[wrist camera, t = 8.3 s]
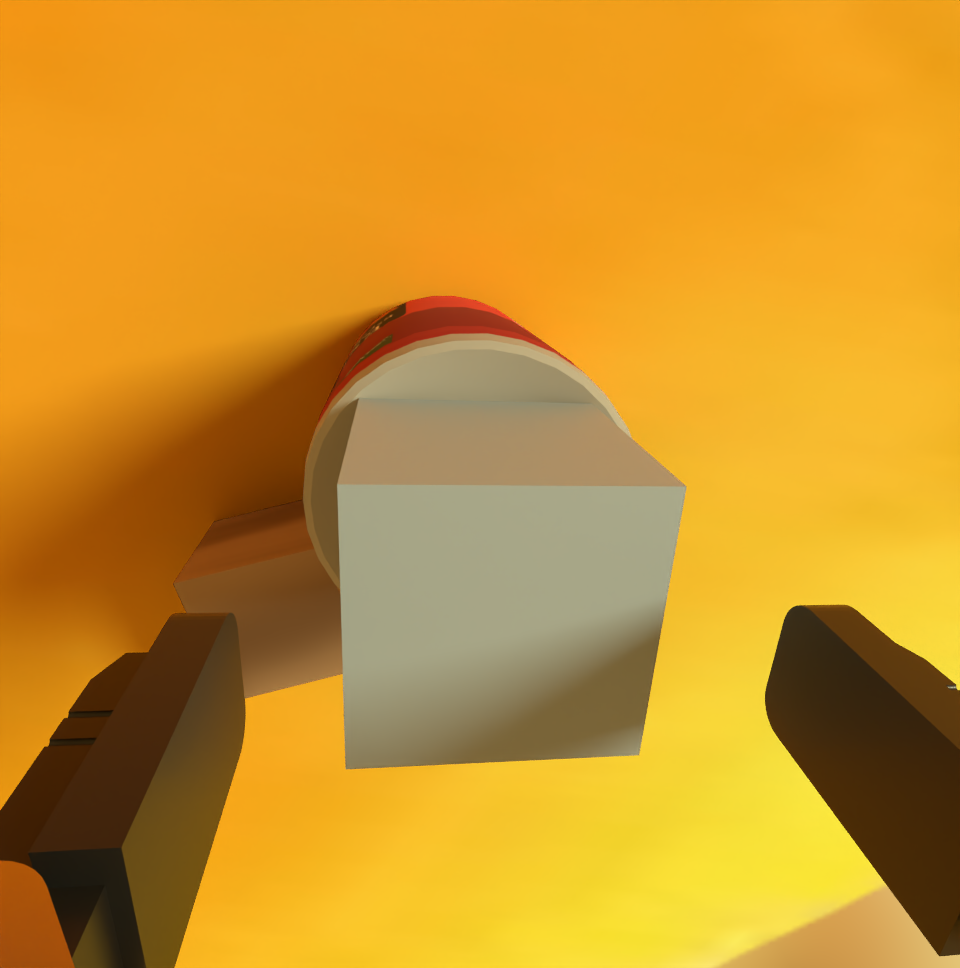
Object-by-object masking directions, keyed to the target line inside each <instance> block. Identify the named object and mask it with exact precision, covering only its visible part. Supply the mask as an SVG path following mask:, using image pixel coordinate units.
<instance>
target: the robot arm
mask: <svg viewBox="0 0 960 968" xmlns="http://www.w3.org/2000/svg"><path fill="white" fill-rule="evenodd" d="M765 705H766V711H767V716H768V719H769V722H770V725H771V727H772V729H773V731H774V732H775V734H776V735H777V737H778V738H779V740H780V741H781V742H782V744H783V745H784V746H785V748H786V749H787V750H788V752H789V753H790V754H791V756H792V757H793V759H794V760H795V761H796V763H797V764H798V765H799V767H800V768H801V769H802V771H803V772H804V773H805V775H806V776H807V778H808V779H809V780H810V782H811V783H812V784H813V786H814V787H815V788H816V790H817V791H818V792H819V794H820V795H821V797H822V798H823V799H824V801H825V802H826V803H827V805H828V806H829V807H830V809H831V810H832V811H833V813H834V814H835V816H836V817H837V818H838V820H839V821H840V822H841V824H842V825H843V826H844V828H845V829H846V830H847V832H848V833H849V834H850V836H851V837H852V839H853V840H854V841H855V843H856V844H857V845H858V847H859V848H860V849H861V851H862V852H863V853H864V855H865V856H866V858H867V859H868V860H869V862H870V863H871V864H872V866H873V867H874V868H875V870H876V871H877V872H878V874H879V875H880V877H881V878H882V879H883V881H884V882H885V883H886V885H887V886H888V887H889V889H890V890H891V891H892V893H893V894H894V896H895V897H896V898H897V900H898V901H899V902H900V903H901V905H902V906H903V908H904V909H905V910H906V912H907V913H908V914H909V916H910V917H911V919H912V920H913V921H914V923H915V924H916V925H917V927H918V928H919V929H920V931H921V932H922V933H923V935H924V936H925V937H926V939H927V940H928V941H929V943H930V944H931V946H932V947H933V948H934V950H935V951H936V952H937V954H938V955H939V956H948V955H959V954H960V690H957V688H956V684H955V683H953V682H952V681H951V680H950V679H948V678H947V677H946V676H945V675H944V674H942V673H941V672H940V671H939V670H938V669H936V668H935V667H934V666H933V665H931V664H930V663H929V662H928V661H927V660H925V659H924V658H922V657H920V656H918V655H916V654H915V653H913V652H911V651H909V650H907V649H905V648H904V647H902V646H900V645H898V644H896V643H895V642H894V641H892V640H891V639H890V638H889V637H888V636H886V635H885V634H884V633H883V632H882V631H880V630H879V629H878V628H877V627H876V626H875V625H873V624H872V623H871V622H870V621H869V620H867V619H866V618H865V617H864V616H863V615H861V614H860V613H859V612H858V611H857V610H855V609H854V608H852V607H850V606H848V605H801V606H795V607H793V608H791V609H790V610H789V612H788V613H787V615H786V617H785V619H784V623H783V626H782V630H781V634H780V638H779V641H778V645H777V649H776V653H775V657H774V660H773V664H772V668H771V672H770V676H769V679H768V683H767V687H766V692H765ZM244 730H245V697H244V687H243V677H242V667H241V657H240V647H239V636H238V627H237V621H236V618H235V616H234V614H233V613H175V614H172V615H171V616H170V617H169V619H168V620H167V622H166V624H165V625H164V627H163V629H162V630H161V632H160V634H159V635H158V637H157V639H156V640H155V642H154V644H153V645H152V647H151V649H150V650H149V652H148V653H126V654H124V655H123V656H122V657H120V658H119V659H118V660H116V661H115V662H114V663H112V664H111V665H110V666H108V667H107V668H106V669H104V670H103V671H102V672H100V673H99V674H98V675H96V676H95V677H94V678H92V679H91V680H90V682H89V683H88V684H87V686H86V687H85V689H84V690H83V692H82V693H81V695H80V696H79V697H78V699H77V700H76V702H75V703H74V705H73V706H72V708H71V709H70V711H69V716H68V718H64V719H63V721H62V722H61V724H60V725H59V726H58V728H57V729H56V731H55V732H54V734H53V735H52V737H51V738H50V743H49V746H48V747H44V748H43V750H42V751H41V753H40V754H39V755H38V757H37V758H36V760H35V761H34V763H33V764H32V766H31V767H30V768H29V770H28V771H27V773H26V774H25V776H24V777H23V779H22V780H21V781H20V783H19V784H18V786H17V787H16V789H15V790H14V792H13V793H12V795H11V796H10V797H9V799H8V800H7V802H6V803H5V805H4V806H3V808H2V809H1V810H0V968H174V967H175V964H176V961H177V957H178V954H179V951H180V948H181V944H182V941H183V938H184V935H185V931H186V928H187V925H188V922H189V918H190V915H191V912H192V909H193V905H194V902H195V899H196V896H197V892H198V889H199V886H200V883H201V880H202V876H203V873H204V870H205V867H206V863H207V860H208V857H209V854H210V850H211V847H212V844H213V841H214V837H215V834H216V831H217V828H218V824H219V821H220V818H221V815H222V811H223V808H224V805H225V802H226V799H227V795H228V792H229V789H230V786H231V782H232V779H233V776H234V773H235V769H236V766H237V763H238V760H239V756H240V753H241V749H242V744H243V738H244Z"/></svg>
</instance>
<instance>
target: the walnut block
mask: <svg viewBox="0 0 960 968" xmlns="http://www.w3.org/2000/svg"><path fill="white" fill-rule="evenodd" d="M173 585H174V587H175V589H176V591H177V593H178V595H179V598H180V600H181V602H182V604H183V606H184V608H185V611H186V613H233V614H234V616H235V618H236V621H237V627H238V636H239V647H240V657H241V667H242V677H243V687H244V697H245V698H249V697H253V696H256V695H260V694H264V693H268V692H272V691H276V690H280V689H284V688H288V687H292V686H296V685H300V684H304V683H308V682H312V681H316V680H320V679H324V678H328V677H332V676H336V675H340V674H343V661H342V628H341V595H340V589H339V588H338V587H337V586H336V585H335V584H334V582H333V581H332V579H331V578H330V576H329V575H328V573H327V571H326V570H325V568H324V567H323V565H322V564H321V562H320V561H319V559H318V557H317V554H316V552H315V549H314V546H313V544H312V541H311V538H310V536H309V533H308V530H307V525H306V518H305V511H304V504H303V500H300V501H296V502H292V503H287V504H283V505H279V506H275V507H271V508H267V509H263V510H259V511H255V512H251V513H247V514H243V515H239V516H235V517H230V518H226V519H222V520H218V521H214V522H213V524H212V525H211V527H210V528H209V530H208V531H207V533H206V534H205V536H204V537H203V539H202V540H201V542H200V544H199V545H198V547H197V548H196V550H195V551H194V553H193V554H192V556H191V557H190V559H189V560H188V562H187V563H186V565H185V566H184V568H183V569H182V571H181V572H180V574H179V575H178V577H177V578H176V580H175V581H174V583H173Z"/></svg>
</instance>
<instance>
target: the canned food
mask: <svg viewBox="0 0 960 968" xmlns="http://www.w3.org/2000/svg"><path fill="white" fill-rule="evenodd" d="M359 398H371V399H415V400H459V401H503V402H547V403H591V404H593V405H594V406H595V407H596V408H598V409H599V410H600V411H601V412H602V413H603V414H604V415H606V416H607V417H608V418H609V419H610V420H611V421H612V422H614V423H615V424H616V425H617V426H618V427H619V428H620V429H621V430H623V431H624V432H625V433H626V434H627V435H628V436H629V437H631V435H630V432H629V430H628V428H627V426H626V425H625V423H624V421H623V420H622V418H621V417H620V415H619V414H618V412H617V411H616V409H615V408H614V406H613V405H612V403H611V402H610V400H609V399H608V397H607V396H606V394H605V393H604V392H603V391H602V390H601V389H600V388H599V387H598V386H597V385H596V384H595V383H594V382H593V381H592V380H591V379H590V378H589V377H588V376H587V375H586V374H585V373H584V372H583V371H582V370H580V369H579V368H577V367H576V366H575V365H574V364H573V363H572V362H571V361H570V360H568V359H567V358H565V357H564V356H563V355H561V354H560V353H558V352H557V351H556V350H554V349H553V348H551V347H550V346H549V345H547V344H546V343H544V342H543V341H542V340H540V339H539V338H537V337H536V336H535V335H533V334H532V333H530V332H529V331H528V330H526V329H525V328H523V327H522V326H521V325H519V324H518V323H516V322H515V321H514V320H512V319H511V318H509V317H508V316H506V315H505V314H503V313H502V312H500V311H499V310H497V309H495V308H493V307H491V306H488V305H486V304H483V303H481V302H478V301H476V300H471V299H466V298H461V297H456V296H431V297H426V298H421V299H416V300H411V301H409V302H406V303H404V304H402V305H399V306H397V307H395V308H392V309H390V310H389V311H388V312H386V313H385V314H383V315H382V316H381V317H379V318H378V319H376V320H375V321H373V323H372V324H371V325H370V326H369V327H368V328H367V329H366V330H365V331H364V332H363V333H362V334H361V336H360V337H359V338H358V340H357V342H356V343H355V345H354V347H353V348H352V350H351V352H350V354H349V355H348V358H347V360H346V362H345V364H344V366H343V368H342V370H341V372H340V374H339V377H338V379H337V381H336V383H335V385H334V387H333V389H332V391H331V394H330V396H329V398H328V400H327V402H326V404H325V406H324V408H323V410H322V413H321V415H320V418H319V421H318V424H317V426H316V428H315V432H314V435H313V438H312V441H311V444H310V447H309V451H308V454H307V457H306V464H305V476H304V488H303V490H304V491H303V504H304V511H305V518H306V525H307V530H308V533H309V536H310V538H311V541H312V544H313V546H314V549H315V552H316V554H317V557H318V559H319V561H320V562H321V564H322V565H323V567H324V568H325V570H326V571H327V573H328V575H329V576H330V578H331V579H332V581H333V582H334V584H335V585H336V586H337V587H338V588H339V589H340V561H339V528H338V495H337V483H338V479H339V475H340V471H341V467H342V463H343V460H344V456H345V452H346V448H347V444H348V440H349V436H350V432H351V428H352V424H353V420H354V416H355V412H356V408H357V404H358V400H359Z"/></svg>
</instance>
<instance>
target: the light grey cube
mask: <svg viewBox="0 0 960 968" xmlns="http://www.w3.org/2000/svg"><path fill="white" fill-rule="evenodd" d="M685 492H686V486H685V485H684V484H683V483H682V482H681V481H680V480H678V479H677V478H676V477H675V476H674V475H673V474H672V473H670V472H669V471H668V470H667V469H666V468H665V467H664V466H662V465H661V464H660V463H659V462H658V461H657V460H656V459H655V458H653V457H652V456H651V455H650V454H649V453H648V452H647V451H645V450H644V449H643V448H642V447H641V446H640V445H639V444H637V443H636V442H635V441H634V440H633V439H632V438H631V437H629V436H628V435H627V434H626V433H625V432H624V431H623V430H621V429H620V428H619V427H618V426H617V425H616V424H615V423H614V422H612V421H611V420H610V419H609V418H608V417H607V416H606V415H604V414H603V413H602V412H601V411H600V410H599V409H598V408H596V407H595V406H594V405H593V404H591V403H547V402H503V401H459V400H415V399H371V398H359V400H358V404H357V408H356V412H355V416H354V420H353V424H352V428H351V432H350V436H349V440H348V444H347V448H346V452H345V456H344V460H343V463H342V467H341V471H340V475H339V479H338V483H337V495H338V528H339V561H340V595H341V628H342V661H343V695H344V728H345V761H346V769H361V768H382V767H402V766H423V765H444V764H464V763H485V762H506V761H526V760H547V759H567V758H588V757H609V756H629V755H639V752H640V747H641V741H642V735H643V730H644V724H645V718H646V713H647V707H648V701H649V696H650V690H651V684H652V679H653V673H654V667H655V662H656V656H657V650H658V645H659V639H660V633H661V628H662V622H663V617H664V611H665V605H666V600H667V594H668V588H669V583H670V577H671V571H672V566H673V560H674V554H675V549H676V543H677V537H678V532H679V526H680V520H681V515H682V509H683V503H684V498H685Z"/></svg>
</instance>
